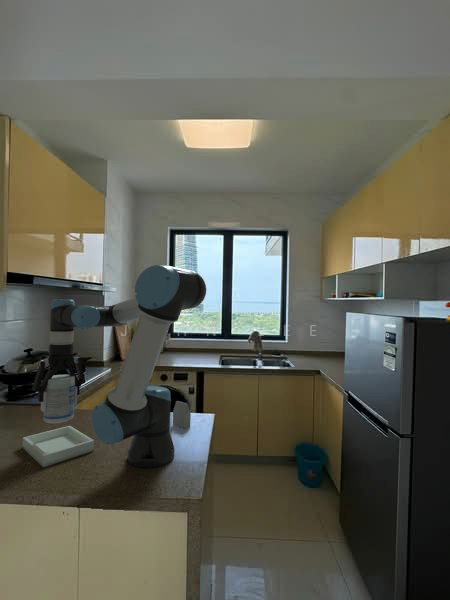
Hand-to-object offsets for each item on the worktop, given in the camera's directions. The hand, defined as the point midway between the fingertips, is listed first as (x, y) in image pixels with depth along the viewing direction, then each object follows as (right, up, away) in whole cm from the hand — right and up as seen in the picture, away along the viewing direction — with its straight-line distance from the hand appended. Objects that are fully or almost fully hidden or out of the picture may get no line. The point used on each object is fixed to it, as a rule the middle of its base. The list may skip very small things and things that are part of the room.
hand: (59, 407), depth 110 cm
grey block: (+40, -16, +23) cm, 48 cm away
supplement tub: (0, -4, 0) cm, 4 cm away
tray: (0, -14, 0) cm, 14 cm away
